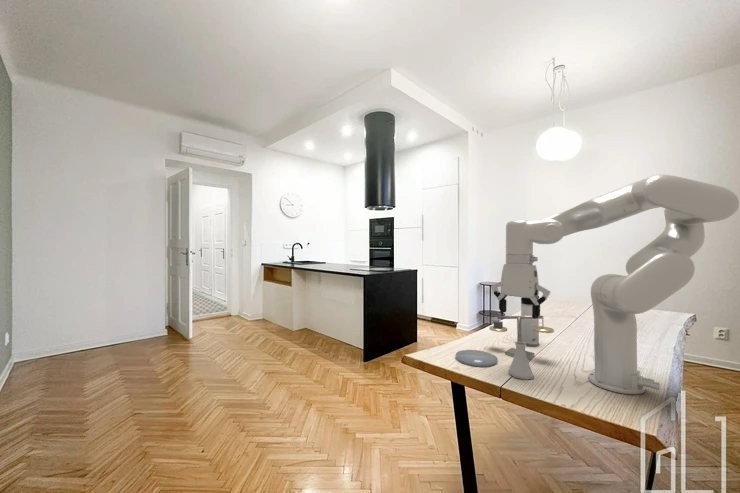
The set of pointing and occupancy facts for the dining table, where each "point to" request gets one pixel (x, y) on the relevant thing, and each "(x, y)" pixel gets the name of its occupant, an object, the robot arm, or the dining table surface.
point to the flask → (520, 363)
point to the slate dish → (476, 358)
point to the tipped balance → (519, 331)
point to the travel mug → (529, 324)
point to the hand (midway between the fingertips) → (518, 315)
